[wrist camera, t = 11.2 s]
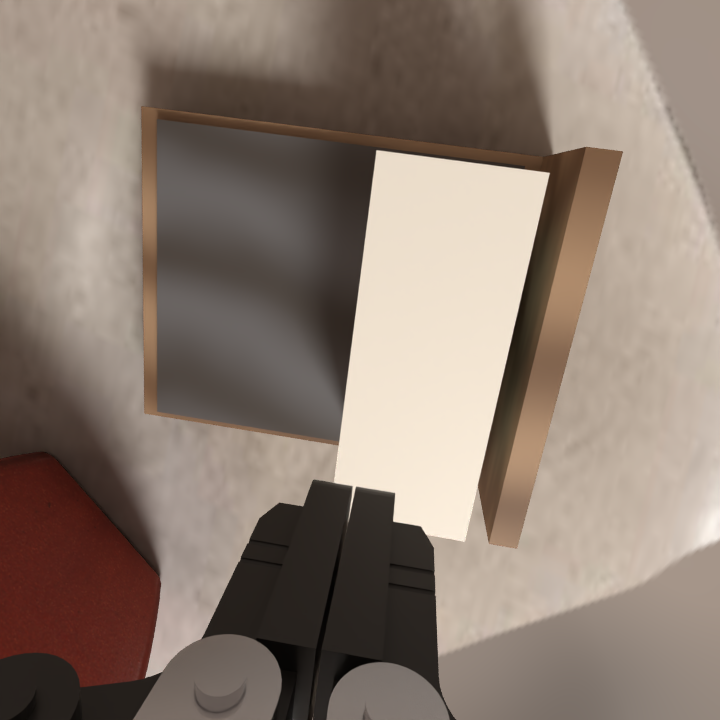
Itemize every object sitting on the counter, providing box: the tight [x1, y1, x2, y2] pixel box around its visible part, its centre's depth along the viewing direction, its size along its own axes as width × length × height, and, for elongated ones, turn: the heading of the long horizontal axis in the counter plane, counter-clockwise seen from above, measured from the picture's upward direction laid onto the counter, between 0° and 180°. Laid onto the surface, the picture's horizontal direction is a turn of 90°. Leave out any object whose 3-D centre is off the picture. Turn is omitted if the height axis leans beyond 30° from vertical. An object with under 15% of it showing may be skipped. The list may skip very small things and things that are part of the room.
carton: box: [334, 150, 550, 542], centre depth 23 cm, size 14×8×6 cm
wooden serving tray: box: [141, 106, 623, 549], centre depth 25 cm, size 16×20×10 cm
